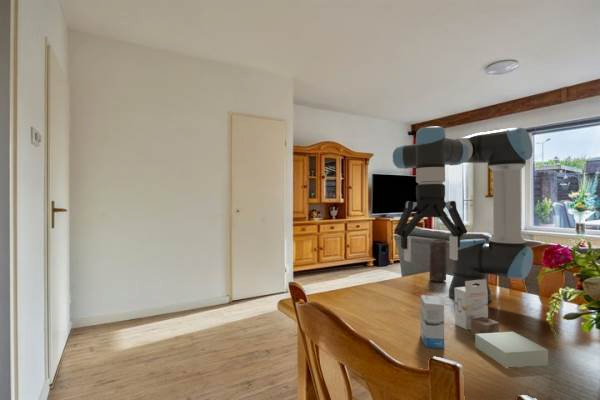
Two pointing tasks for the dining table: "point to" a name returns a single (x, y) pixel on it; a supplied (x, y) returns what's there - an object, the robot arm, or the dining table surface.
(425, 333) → the ink box
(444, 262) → the dark brown tall block
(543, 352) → the pedestal block
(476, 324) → the walnut cube
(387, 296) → the dining table surface
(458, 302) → the ink cartridge box
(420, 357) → the dining table surface
